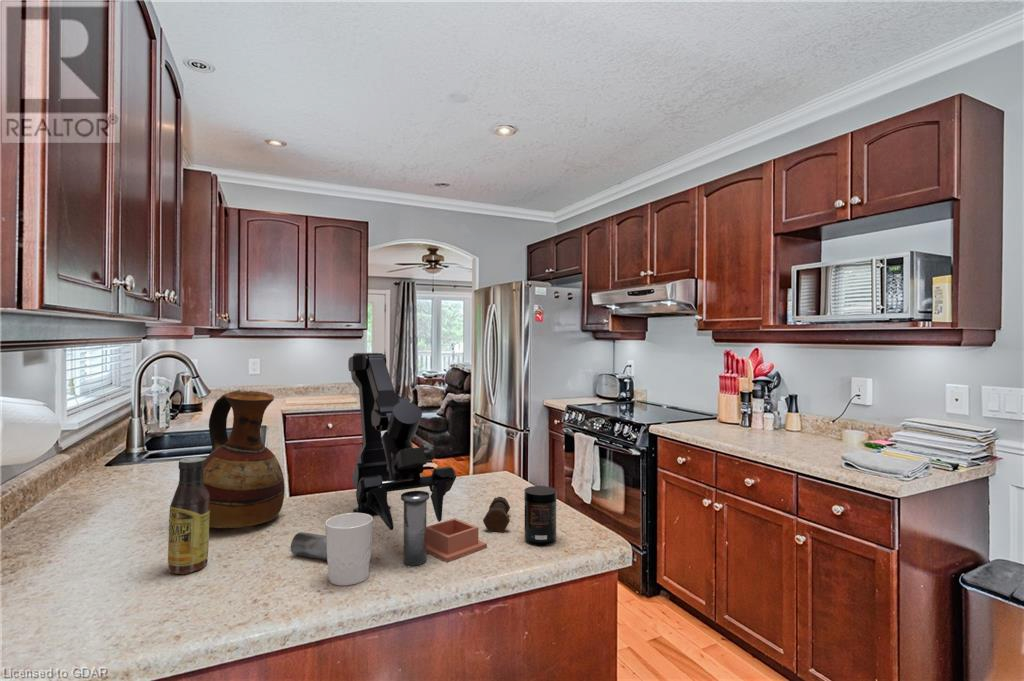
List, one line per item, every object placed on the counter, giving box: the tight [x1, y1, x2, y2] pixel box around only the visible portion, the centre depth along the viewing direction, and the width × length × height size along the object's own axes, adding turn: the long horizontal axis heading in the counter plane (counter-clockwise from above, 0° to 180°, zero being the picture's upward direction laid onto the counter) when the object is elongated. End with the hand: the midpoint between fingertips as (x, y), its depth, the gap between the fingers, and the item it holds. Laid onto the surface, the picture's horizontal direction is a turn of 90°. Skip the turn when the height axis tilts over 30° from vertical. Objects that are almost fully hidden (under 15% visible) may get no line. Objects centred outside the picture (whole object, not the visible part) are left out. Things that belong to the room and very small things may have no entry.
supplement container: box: [523, 485, 558, 547], centre depth 107 cm, size 7×7×10 cm
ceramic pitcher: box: [203, 390, 285, 529], centre depth 117 cm, size 20×20×30 cm
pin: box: [290, 531, 327, 561], centre depth 98 cm, size 12×4×4 cm
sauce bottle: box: [167, 456, 210, 575], centre depth 93 cm, size 6×6×20 cm
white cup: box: [325, 512, 374, 586], centre depth 90 cm, size 8×8×10 cm
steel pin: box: [400, 490, 430, 568], centre depth 96 cm, size 5×5×13 cm
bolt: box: [482, 496, 511, 534], centre depth 119 cm, size 6×5×15 cm
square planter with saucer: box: [426, 517, 488, 563], centre depth 103 cm, size 10×10×4 cm
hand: (416, 524), depth 95 cm, fingers open, 9 cm apart
